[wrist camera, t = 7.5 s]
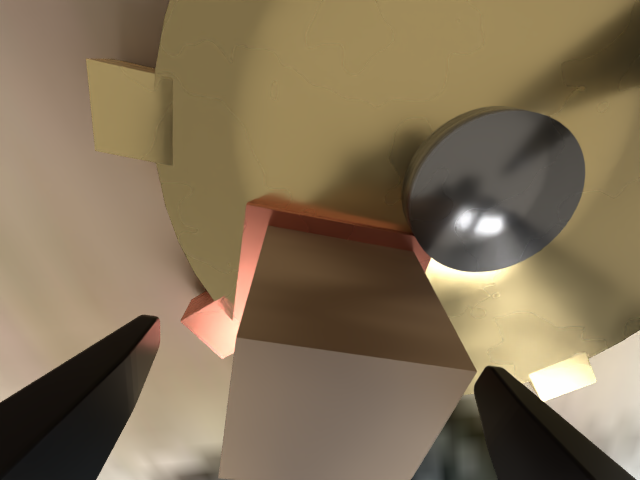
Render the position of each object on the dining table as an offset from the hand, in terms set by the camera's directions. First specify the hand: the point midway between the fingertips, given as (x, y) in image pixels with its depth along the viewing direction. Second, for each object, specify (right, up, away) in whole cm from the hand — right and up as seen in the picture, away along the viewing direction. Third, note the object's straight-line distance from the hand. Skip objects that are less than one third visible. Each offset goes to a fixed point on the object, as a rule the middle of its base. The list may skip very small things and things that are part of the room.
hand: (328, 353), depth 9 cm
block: (0, +1, +2) cm, 2 cm away
